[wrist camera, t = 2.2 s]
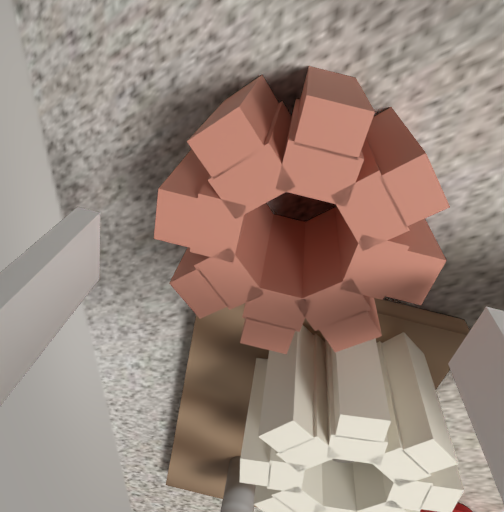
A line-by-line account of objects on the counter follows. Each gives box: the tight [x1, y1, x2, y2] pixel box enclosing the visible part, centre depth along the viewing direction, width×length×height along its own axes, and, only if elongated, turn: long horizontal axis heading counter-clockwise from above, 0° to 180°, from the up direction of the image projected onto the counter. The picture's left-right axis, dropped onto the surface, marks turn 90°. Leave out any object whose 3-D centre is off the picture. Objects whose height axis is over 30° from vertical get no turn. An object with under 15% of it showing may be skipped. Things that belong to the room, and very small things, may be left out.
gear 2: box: [240, 325, 464, 512], centre depth 24 cm, size 11×11×7 cm
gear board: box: [166, 298, 470, 512], centre depth 29 cm, size 24×16×6 cm, turn 168°
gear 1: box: [154, 66, 450, 354], centre depth 19 cm, size 11×11×7 cm
